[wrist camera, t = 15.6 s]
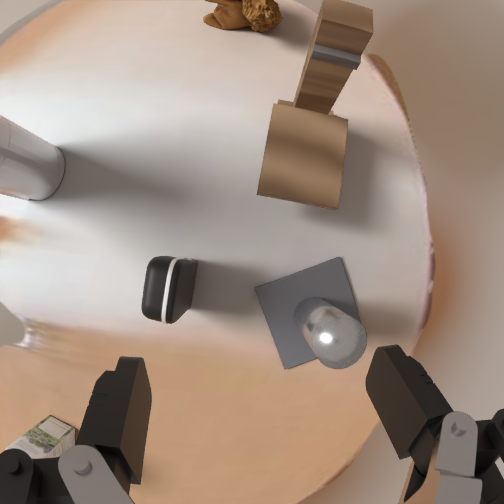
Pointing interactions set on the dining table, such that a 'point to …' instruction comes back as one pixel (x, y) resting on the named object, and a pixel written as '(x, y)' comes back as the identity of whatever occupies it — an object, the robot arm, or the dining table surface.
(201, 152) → the dining table surface
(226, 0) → the stuffed squirrel
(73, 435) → the syrup box
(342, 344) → the steel cylinder
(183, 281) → the battery charger
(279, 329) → the felt pad
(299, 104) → the walnut standard
